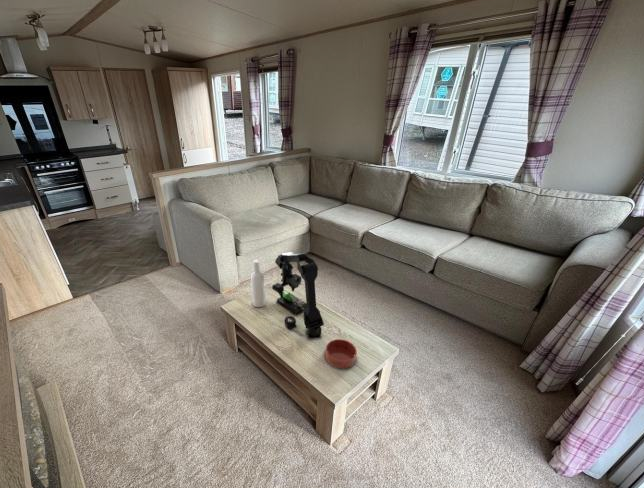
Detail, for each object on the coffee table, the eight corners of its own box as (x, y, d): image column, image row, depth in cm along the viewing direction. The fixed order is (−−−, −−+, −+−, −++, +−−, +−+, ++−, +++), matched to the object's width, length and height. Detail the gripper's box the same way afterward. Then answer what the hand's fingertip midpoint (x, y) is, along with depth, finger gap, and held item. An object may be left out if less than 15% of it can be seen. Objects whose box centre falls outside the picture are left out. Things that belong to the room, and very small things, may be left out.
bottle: (251, 307, 181) (247, 264, 165) (254, 299, 188) (250, 257, 172) (264, 308, 180) (261, 265, 164) (266, 300, 186) (264, 258, 171)
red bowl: (329, 370, 139) (329, 362, 136) (322, 347, 151) (323, 340, 148) (359, 367, 139) (360, 360, 137) (350, 345, 151) (351, 338, 149)
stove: (309, 309, 177) (309, 305, 176) (297, 316, 172) (297, 312, 171) (289, 295, 189) (288, 292, 188) (277, 302, 184) (276, 298, 183)
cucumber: (290, 303, 179) (290, 298, 177) (280, 296, 185) (280, 292, 183) (294, 300, 180) (294, 296, 179) (284, 294, 186) (284, 289, 185)
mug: (281, 326, 165) (281, 316, 161) (289, 321, 169) (289, 311, 165) (297, 337, 157) (297, 327, 153) (305, 332, 161) (305, 321, 157)
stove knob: (303, 306, 176) (303, 300, 173) (298, 309, 174) (298, 303, 171) (299, 303, 178) (299, 297, 176) (294, 306, 176) (294, 300, 174)
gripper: (284, 284, 163) (284, 307, 171) (308, 272, 173) (307, 293, 181) (271, 276, 170) (272, 298, 178) (294, 264, 180) (294, 286, 188)
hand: (287, 294), depth 181 cm, fingers open, 9 cm apart
